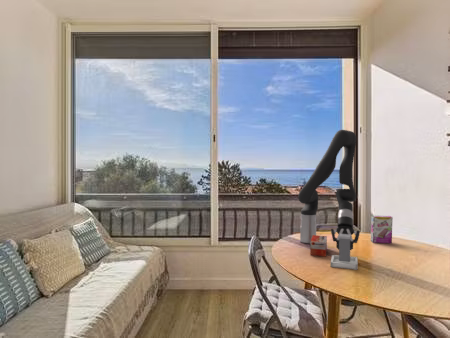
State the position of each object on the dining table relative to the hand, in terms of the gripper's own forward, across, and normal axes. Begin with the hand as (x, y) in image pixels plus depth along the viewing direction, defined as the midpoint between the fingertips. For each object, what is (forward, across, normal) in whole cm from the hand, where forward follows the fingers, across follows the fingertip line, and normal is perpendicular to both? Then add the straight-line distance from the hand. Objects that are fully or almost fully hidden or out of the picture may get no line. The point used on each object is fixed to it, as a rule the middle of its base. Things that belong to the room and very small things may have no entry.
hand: (344, 248), depth 160 cm
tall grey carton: (+3, 0, +5) cm, 6 cm away
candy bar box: (-32, +20, +44) cm, 57 cm away
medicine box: (-7, -14, +19) cm, 24 cm away
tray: (+5, 0, +6) cm, 8 cm away
